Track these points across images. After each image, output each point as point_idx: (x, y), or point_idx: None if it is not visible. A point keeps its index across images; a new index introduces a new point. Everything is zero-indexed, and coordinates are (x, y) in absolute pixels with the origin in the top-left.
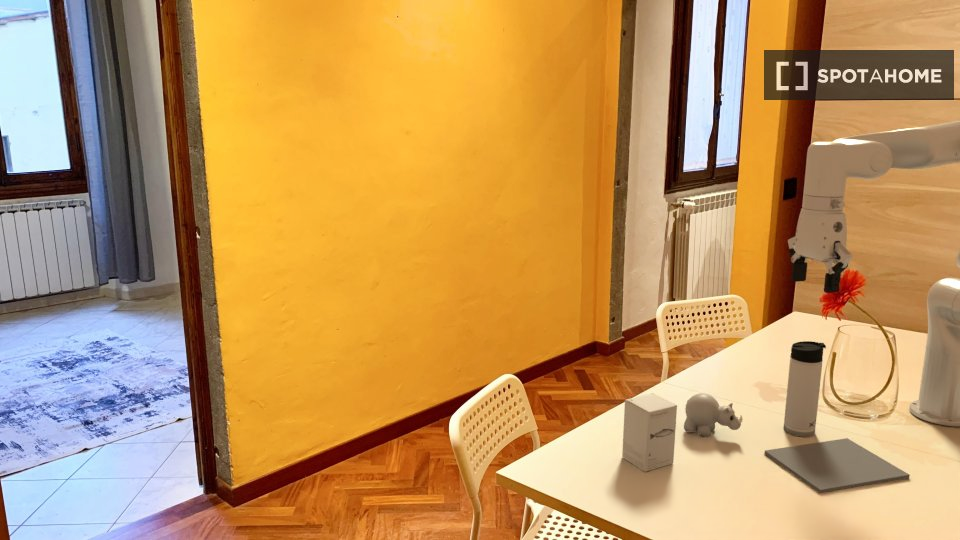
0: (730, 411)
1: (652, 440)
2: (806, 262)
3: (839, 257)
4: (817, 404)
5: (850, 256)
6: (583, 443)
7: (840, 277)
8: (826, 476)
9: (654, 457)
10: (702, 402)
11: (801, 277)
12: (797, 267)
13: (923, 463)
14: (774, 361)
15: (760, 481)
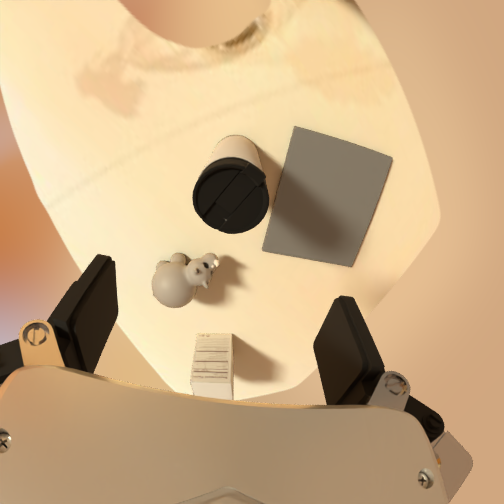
0: (207, 278)
1: (233, 375)
2: (64, 325)
3: (369, 420)
4: (258, 156)
5: (465, 465)
6: (165, 362)
7: (375, 345)
8: (341, 240)
9: (233, 359)
10: (182, 305)
11: (109, 292)
12: (94, 357)
13: (381, 103)
14: (40, 13)
15: (301, 293)
